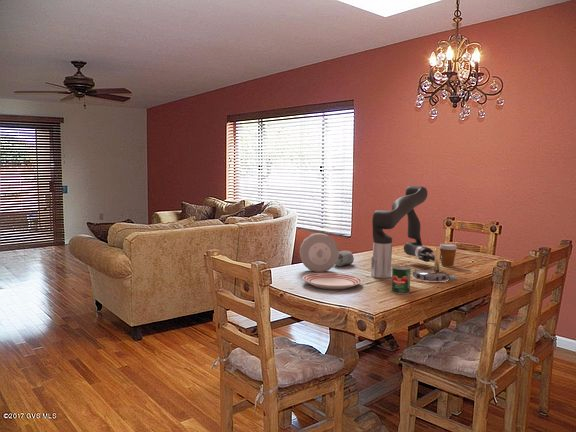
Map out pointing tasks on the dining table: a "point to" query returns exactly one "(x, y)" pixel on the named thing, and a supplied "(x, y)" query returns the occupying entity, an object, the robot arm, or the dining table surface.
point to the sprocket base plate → (428, 280)
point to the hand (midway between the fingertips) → (437, 259)
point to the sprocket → (434, 273)
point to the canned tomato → (401, 279)
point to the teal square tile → (452, 277)
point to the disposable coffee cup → (447, 254)
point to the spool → (344, 258)
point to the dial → (319, 259)
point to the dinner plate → (332, 280)
